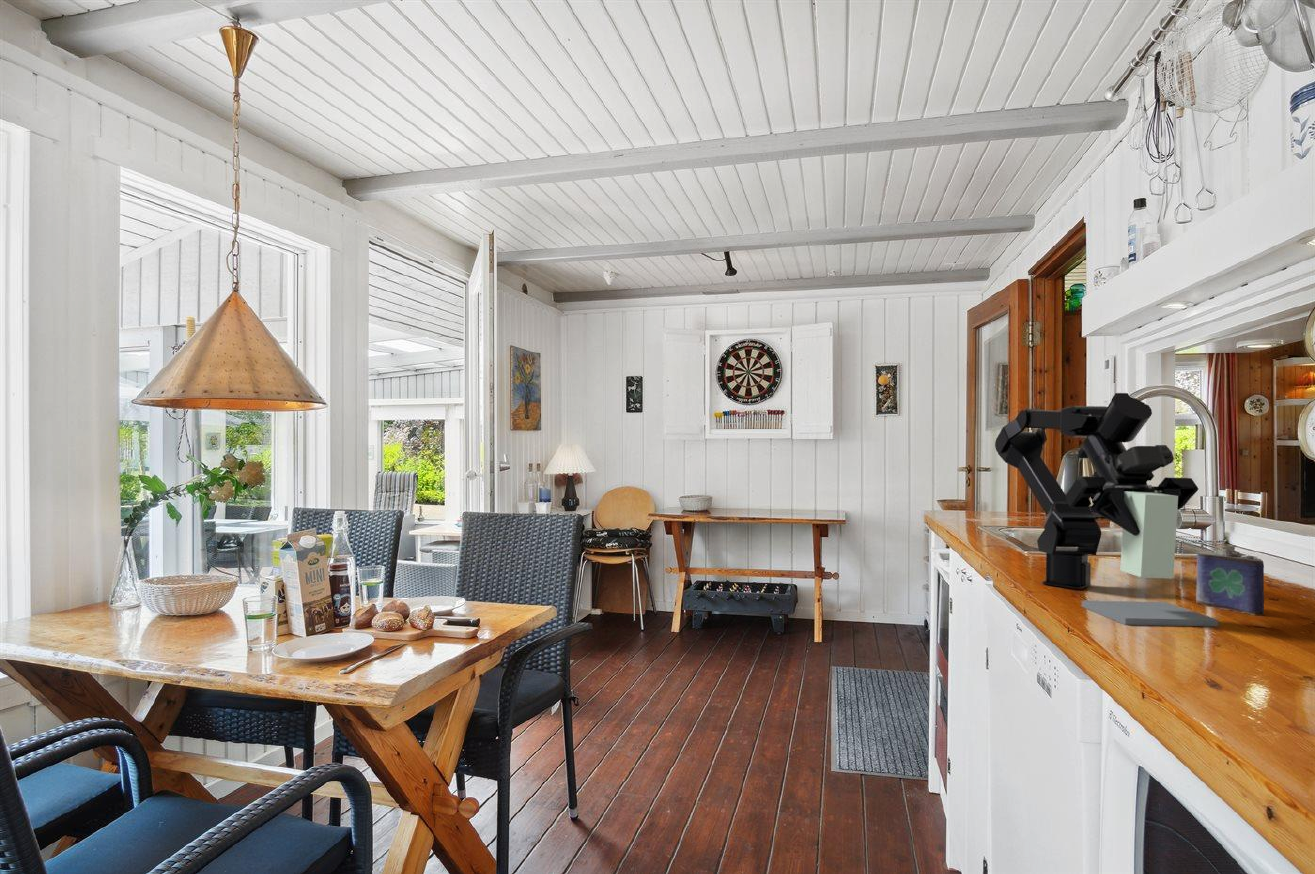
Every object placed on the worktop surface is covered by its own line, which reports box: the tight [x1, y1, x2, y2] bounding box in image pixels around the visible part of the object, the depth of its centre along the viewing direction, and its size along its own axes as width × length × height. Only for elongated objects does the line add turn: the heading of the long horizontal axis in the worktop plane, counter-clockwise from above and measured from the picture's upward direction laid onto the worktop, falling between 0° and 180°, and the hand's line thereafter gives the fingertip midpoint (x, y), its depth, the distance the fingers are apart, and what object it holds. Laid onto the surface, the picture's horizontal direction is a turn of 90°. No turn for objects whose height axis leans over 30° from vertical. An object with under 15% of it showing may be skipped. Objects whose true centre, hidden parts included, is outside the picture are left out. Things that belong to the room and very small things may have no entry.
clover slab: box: [1195, 544, 1265, 617], centre depth 115 cm, size 9×3×11 cm, turn 28°
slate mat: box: [1081, 600, 1219, 627], centre depth 110 cm, size 11×14×1 cm
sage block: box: [1119, 491, 1178, 580], centre depth 110 cm, size 5×5×13 cm
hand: (1154, 534), depth 109 cm, fingers closed on sage block, 5 cm apart
